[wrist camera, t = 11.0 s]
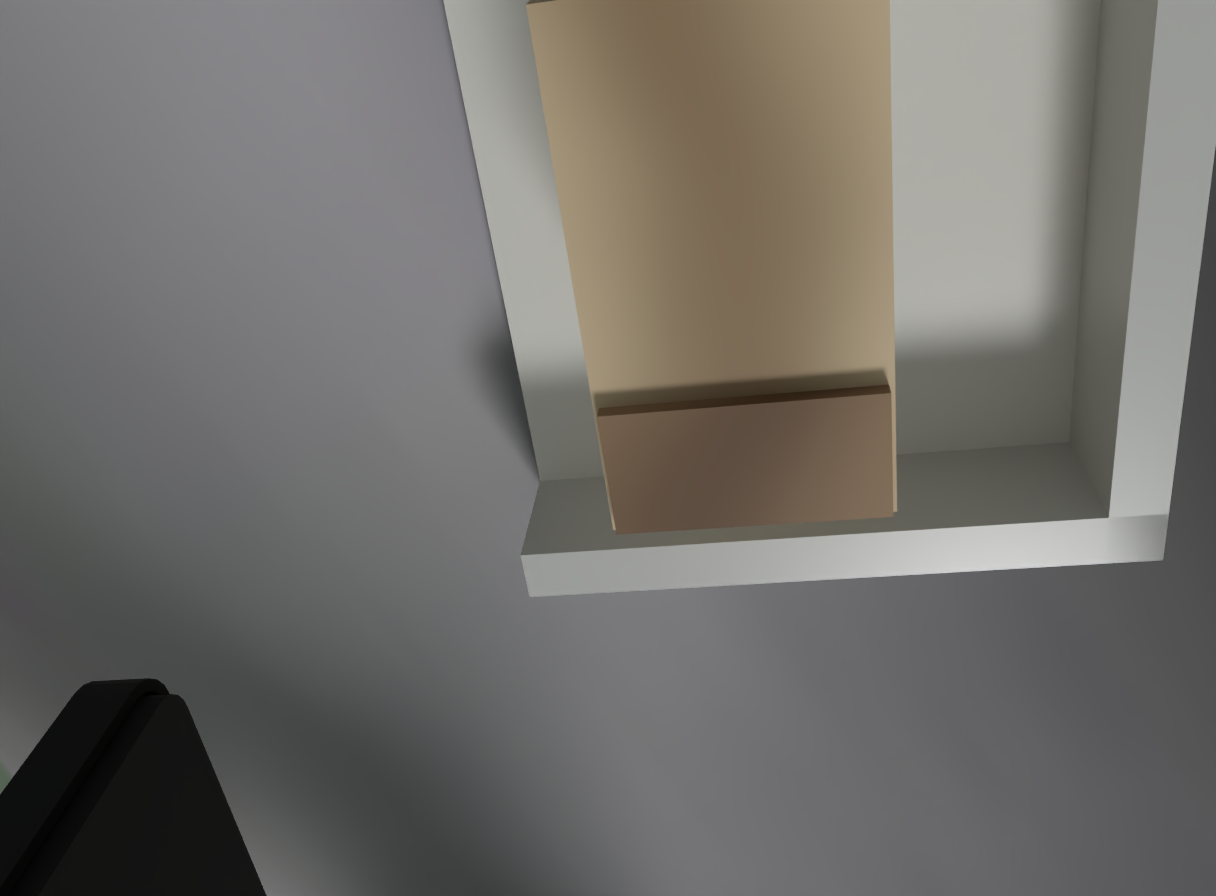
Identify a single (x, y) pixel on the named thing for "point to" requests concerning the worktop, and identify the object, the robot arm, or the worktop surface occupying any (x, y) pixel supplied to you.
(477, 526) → the worktop surface
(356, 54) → the worktop surface
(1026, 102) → the arena
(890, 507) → the beige and brown box
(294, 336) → the worktop surface
